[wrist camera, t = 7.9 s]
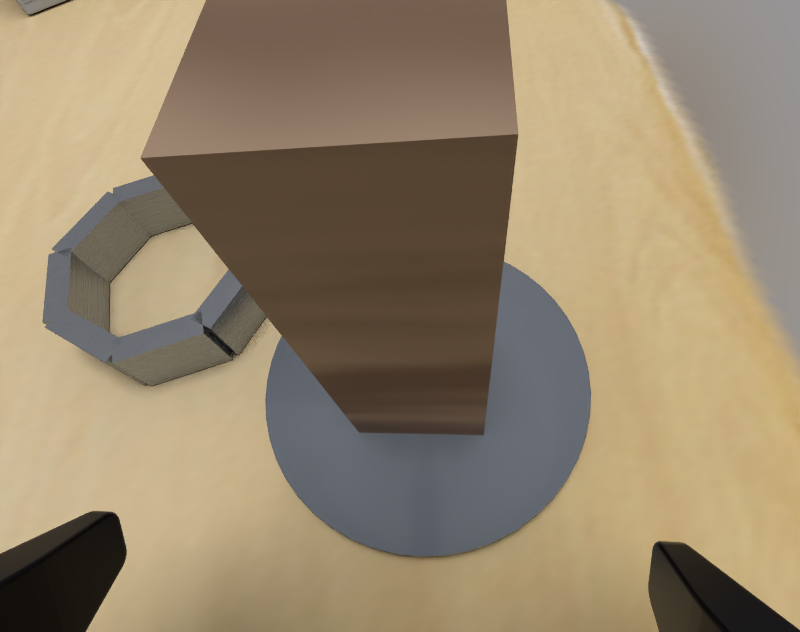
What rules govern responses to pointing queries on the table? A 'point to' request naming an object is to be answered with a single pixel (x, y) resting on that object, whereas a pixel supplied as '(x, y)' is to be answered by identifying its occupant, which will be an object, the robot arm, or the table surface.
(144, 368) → the steel ring
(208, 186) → the walnut peg
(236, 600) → the table surface
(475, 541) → the slate coaster
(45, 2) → the coffee box
